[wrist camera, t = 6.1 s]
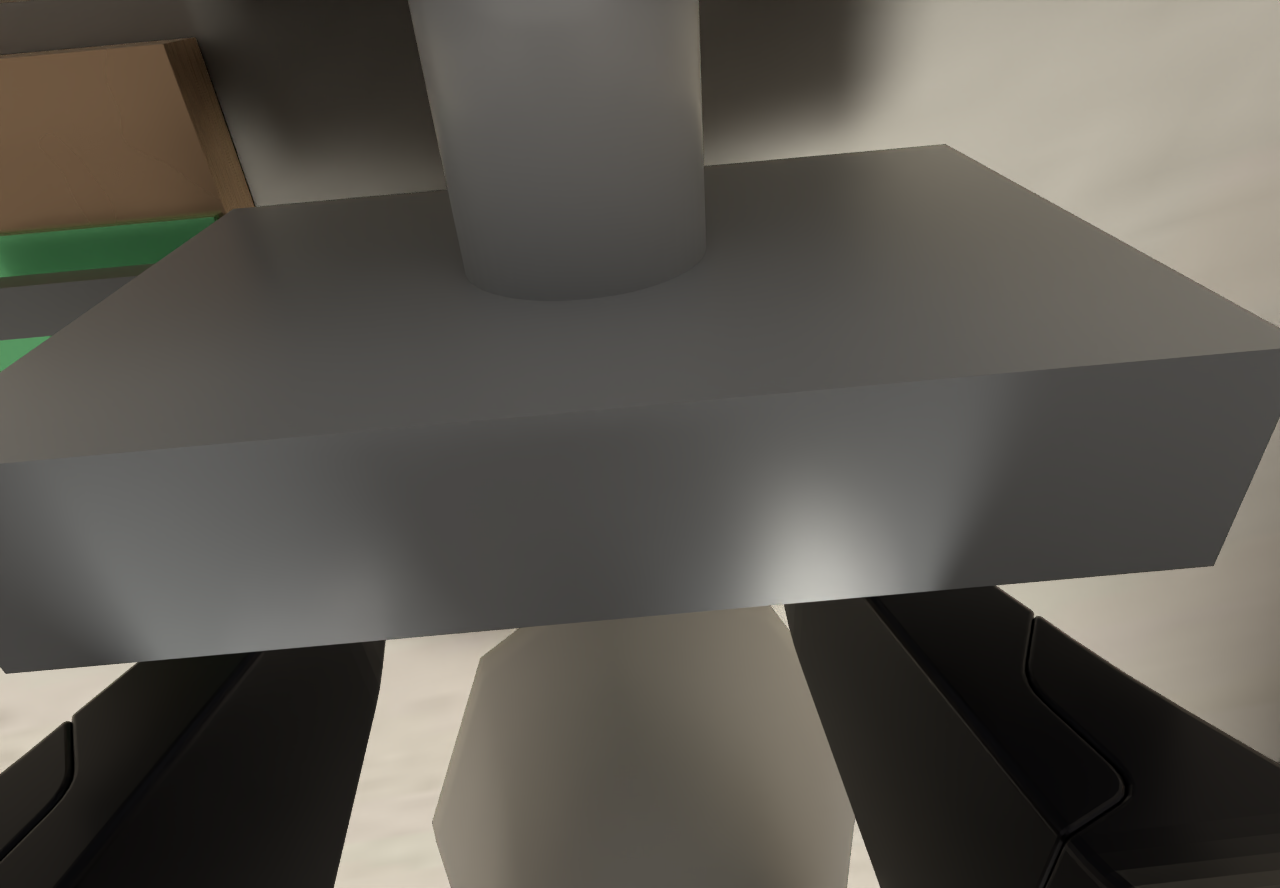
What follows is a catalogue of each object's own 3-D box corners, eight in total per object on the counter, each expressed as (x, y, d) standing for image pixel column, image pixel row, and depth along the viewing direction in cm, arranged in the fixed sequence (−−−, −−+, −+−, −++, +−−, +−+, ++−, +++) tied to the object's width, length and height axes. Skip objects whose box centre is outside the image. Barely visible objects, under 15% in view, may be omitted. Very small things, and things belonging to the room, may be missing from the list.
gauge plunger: (926, 280, 9) (1213, 565, 5) (-40, 367, 9) (-593, 727, 5) (992, -205, 7) (1673, -475, 3) (-327, -83, 7) (-1905, -145, 3)
